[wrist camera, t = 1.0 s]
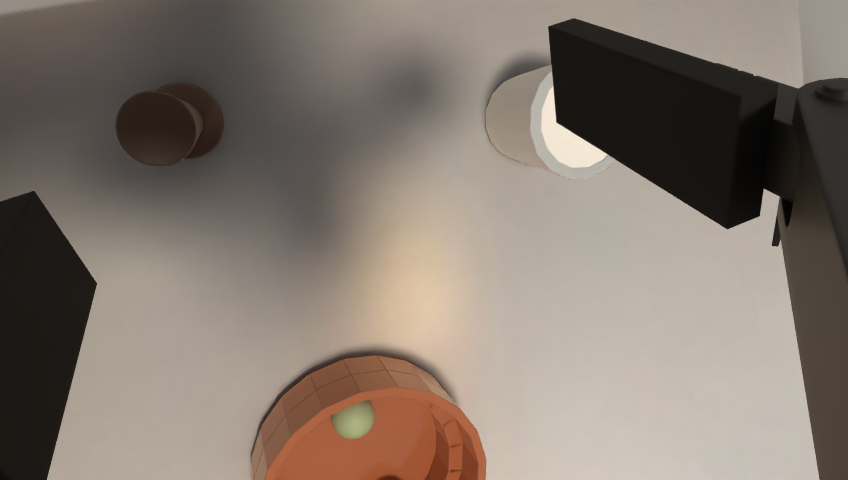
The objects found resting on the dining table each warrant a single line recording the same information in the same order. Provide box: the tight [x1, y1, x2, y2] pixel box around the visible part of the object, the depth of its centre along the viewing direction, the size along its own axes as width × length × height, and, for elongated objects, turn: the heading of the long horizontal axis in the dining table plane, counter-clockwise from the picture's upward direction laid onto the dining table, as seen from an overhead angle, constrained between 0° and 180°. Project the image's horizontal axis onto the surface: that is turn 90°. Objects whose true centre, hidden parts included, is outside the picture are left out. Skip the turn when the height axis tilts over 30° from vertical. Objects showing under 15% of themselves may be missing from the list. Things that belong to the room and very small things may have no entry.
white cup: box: [486, 65, 616, 179], centre depth 36 cm, size 7×7×7 cm
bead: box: [331, 400, 375, 439], centre depth 37 cm, size 3×3×3 cm
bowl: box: [251, 355, 486, 480], centre depth 37 cm, size 14×14×6 cm
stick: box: [115, 83, 223, 166], centre depth 24 cm, size 4×4×18 cm
